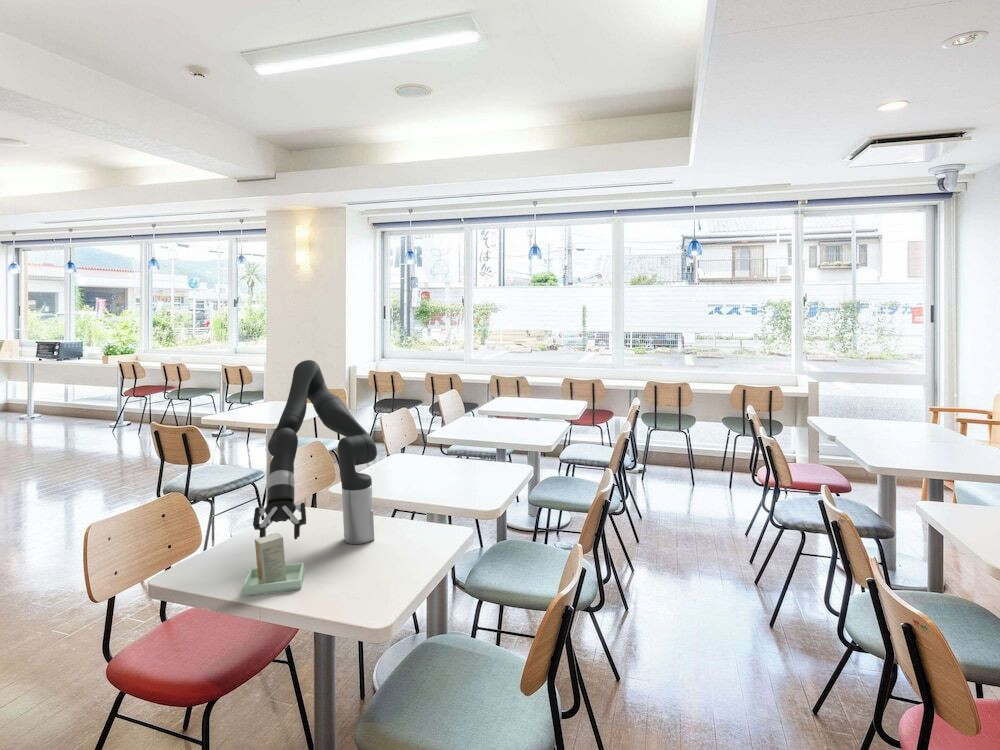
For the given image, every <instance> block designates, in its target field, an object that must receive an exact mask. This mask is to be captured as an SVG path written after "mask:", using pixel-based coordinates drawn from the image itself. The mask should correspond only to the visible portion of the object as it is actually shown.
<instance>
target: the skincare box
mask: <svg viewBox="0 0 1000 750" xmlns="http://www.w3.org/2000/svg"><path fill="white" fill-rule="evenodd" d="M254 545H255V546H254V547H255V548H254V549H255V557H256V559H255V561H256V568H257V571H258V582H259V584H266V583H274V582H282V581H286V580H287V578H286V567H285V565H286V558H285V547H284V545H285V543H284V537H283V536H282V535H281V534H280V533H278V532H276V533H273V534H269V535H266V536H265V537H261V538H260V537H259V538H258V537H257V538H256V539H255V538H254Z"/></svg>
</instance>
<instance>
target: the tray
mask: <svg viewBox="0 0 1000 750" xmlns="http://www.w3.org/2000/svg"><path fill="white" fill-rule="evenodd" d="M285 567H286V578H287V580H286V581H282V582H274V583H266V584H259V582H258V571H257V567H256V568H250V569H249V571H248V572H247V576H246V578H245V581H244V583H243V585H242V597H243V596H246V597H250V596H249V595H253V596H258V595H257V594H261V595H266V594H265V593H269V594H276V593H275V592H277V593H283V592H284V591H285V592H290V591H298V590H302V586H303V582H304V576H305V562H298V563H290V564H288V563H287V564H285Z"/></svg>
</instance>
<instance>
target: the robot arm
mask: <svg viewBox="0 0 1000 750" xmlns="http://www.w3.org/2000/svg"><path fill="white" fill-rule="evenodd" d="M308 400H309V402H311V404H312V407H313V409H314V411H315V412H316V414H317V417H318V418H319V420H320V421H321V423H322V424H323V425H324V426H325V427H326V428H327V429H329V430H330V431H332V432H334V433H336V434H338V435H341V436H343V437H342V438H340V440H339V441H338V444H337V458H338V467H339V477H340V478H339V479H340V481H341V496H342V497H341V499H342V517H343V518H342V519H343V523H342V524H343V538H344V539H343V540H344V542H345V543H347V544H350V545H361V544H365V543H368V542H372V541H375V526H374V524H375V523H374V521H375V520H374V504H373V486H372V485H373V483H372V482H373V481H372V480H373V479H372V476H371V475H369V474H368V473H363V472H357V471H356V466H360V465H365V464H369V463H372V462H373V461H374V460H376V458H377V456H378V449H377V446H376V442H375V440H374V439H373V437H372V436H371V435H370V433H369V432H367V430H366V429H365V428H364V427H363V426H362V425H361V424H360V423H359V422H358V421H357V420H356V419H355V417H354V416H353V415H352V413H351V412H350V411H349V409H348V408H347V406H346V405H345V403H344V402H343V400H342V399H341V398H340V397H339V396H338V395H336V394H333V393H331V391H330V390H329V389H328V386H327V384H326V381H325V378H324V376H323V373H322V369H321V367H320V366H319V364H318V363H317V362H316V361H315V360H312V359H306V360H302V361H300V362H298V364H297V365H296V366H295V367H294V370H293V373H292V379H291V385H290V389H289V393H288V397H287V401H286V403H285V406H284V409H283V411H282V413H281V416H280V418H279V422H278V424H277V426H276V428H275V430H274V431H273V433H272V435H271V437H270V439H269V441H268V443H267V449H268V452H269V454H270V455H271V456H272V459H271V460H270V463H269V477H268V482H267V497H266V499H267V500H266V506H265V508H260V507H259V506H257V507H255V508H254V513H253V514H254V515H253V521H252V526H253V529H254V530H255V531H259V538H261V537H265V536H267V528H269V526H271V525H272V523H279V522H287V521H289V522H290V523H291V524H293V525H294V527H293V539H294V540H298V538H299V537H300V536H301V535H300V534H301V531H300V530H301V526H305V525H306V524H307V513H306V512H307V511H306V503H305V502H300V504H297V505H296V504H295V491H296V490H295V485H296V484H295V483H296V482H295V459H296V456H297V455H296V454H297V451H298V445H299V438H298V432H299V431H300V429H301V428H302V427H301V426H302V424H303V422H304V419H305V417H306V413H307V405H308V404H307V403H308ZM296 511H298V513H300V517H301V519H298V518H297V517H296V516H295V514H294V513H296ZM264 514H266V516H265V518H264V519H263V521H262V522H261V523H260V519H261V517H262V516H263V515H264Z"/></svg>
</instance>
